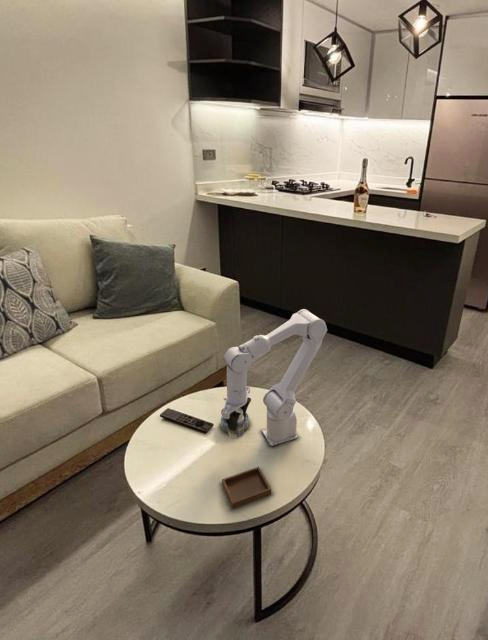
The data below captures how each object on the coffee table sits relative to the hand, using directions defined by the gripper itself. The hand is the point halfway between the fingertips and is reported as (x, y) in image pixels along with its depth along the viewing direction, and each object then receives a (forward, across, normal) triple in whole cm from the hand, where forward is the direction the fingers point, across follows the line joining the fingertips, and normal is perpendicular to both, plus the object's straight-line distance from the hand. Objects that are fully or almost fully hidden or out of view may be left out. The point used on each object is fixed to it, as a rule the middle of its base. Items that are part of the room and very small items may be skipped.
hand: (236, 424), depth 124 cm
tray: (+10, +12, +9) cm, 19 cm away
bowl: (+10, -11, -6) cm, 16 cm away
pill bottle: (+4, 0, 0) cm, 4 cm away
